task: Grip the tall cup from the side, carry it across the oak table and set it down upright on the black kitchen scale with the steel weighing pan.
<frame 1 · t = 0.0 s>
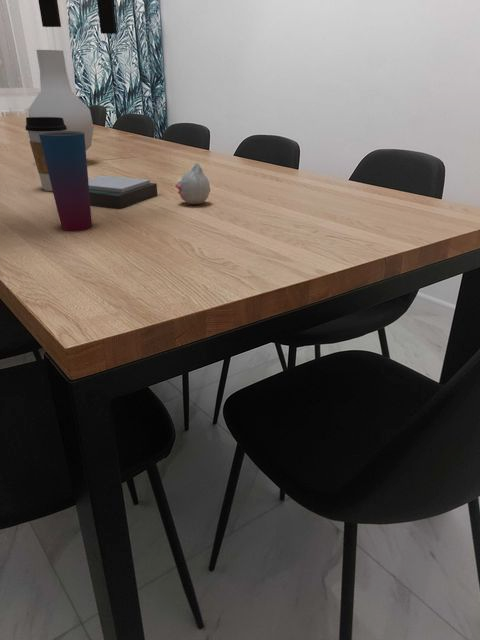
hand: (82, 30, 78), 29 cm above the table, tool pointing down, fingers open, 13 cm apart
scale: (111, 198, 106), on the table
cup: (77, 227, 87), on the table
vase: (68, 164, 144), on the table
figurine: (193, 204, 103), on the table
coffee cup: (57, 189, 114), on the table
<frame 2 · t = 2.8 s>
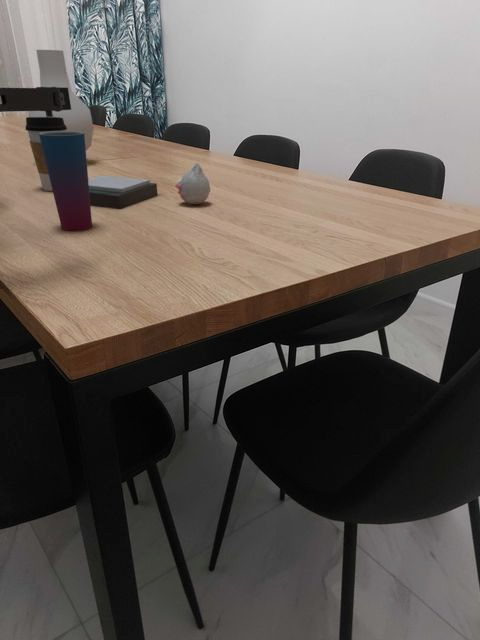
hand: (21, 98, 69), 20 cm above the table, tool horizontal, fingers open, 13 cm apart
nothing on the table moved.
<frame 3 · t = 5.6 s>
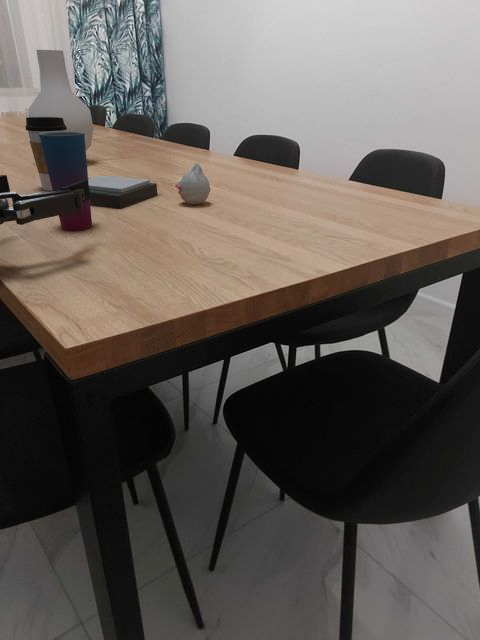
hand: (46, 186, 77), 8 cm above the table, tool horizontal, fingers open, 13 cm apart
nothing on the table moved.
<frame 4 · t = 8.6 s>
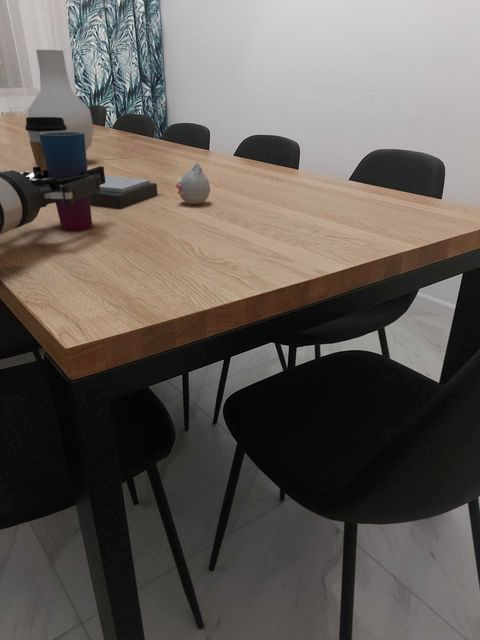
hand: (84, 173, 87), 8 cm above the table, tool horizontal, fingers closed on cup, 6 cm apart
cup: (77, 228, 87), on the table, touching gripper
everything else where it was.
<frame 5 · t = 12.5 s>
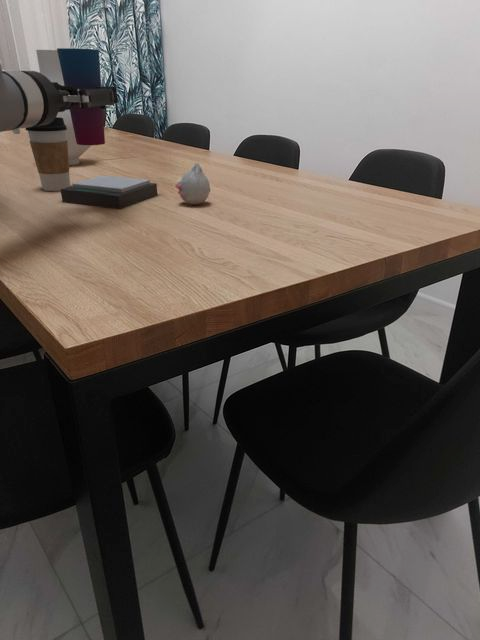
hand: (98, 94, 93), 20 cm above the table, tool horizontal, fingers closed on cup, 6 cm apart
cup: (91, 144, 93), point 12 cm above the table, touching gripper
everything else where it was.
when the fingers open (11 cm above the table, at t = 16.4 s): cup stays where it is, resting on scale.
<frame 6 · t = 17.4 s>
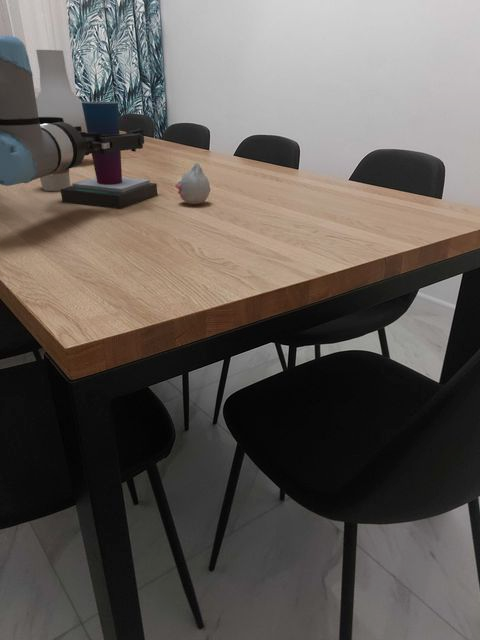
hand: (110, 134, 103), 12 cm above the table, tool horizontal, fingers open, 13 cm apart
cup: (109, 183, 105), point 3 cm above the table, touching scale
everything else where it was.
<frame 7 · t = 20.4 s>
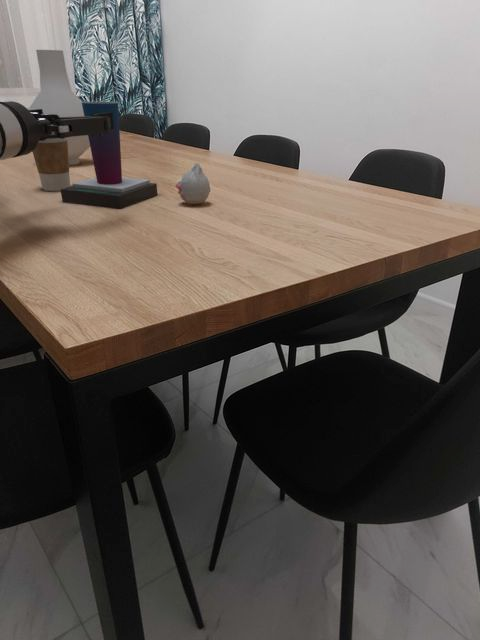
hand: (76, 118, 90), 16 cm above the table, tool horizontal, fingers open, 13 cm apart
nothing on the table moved.
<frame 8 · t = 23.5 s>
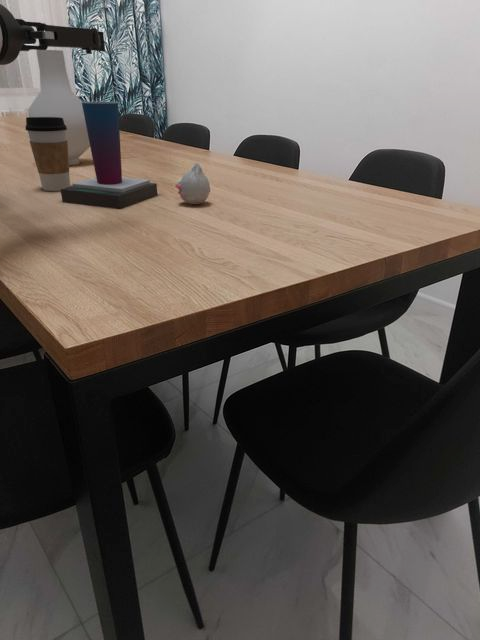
hand: (64, 41, 84), 28 cm above the table, tool horizontal, fingers open, 13 cm apart
nothing on the table moved.
at the end: cup inside the target area on the scale (0.8 cm from its centre), point 3.1 cm above the scale's base; cup tilted 0°; the gripper is holding nothing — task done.
